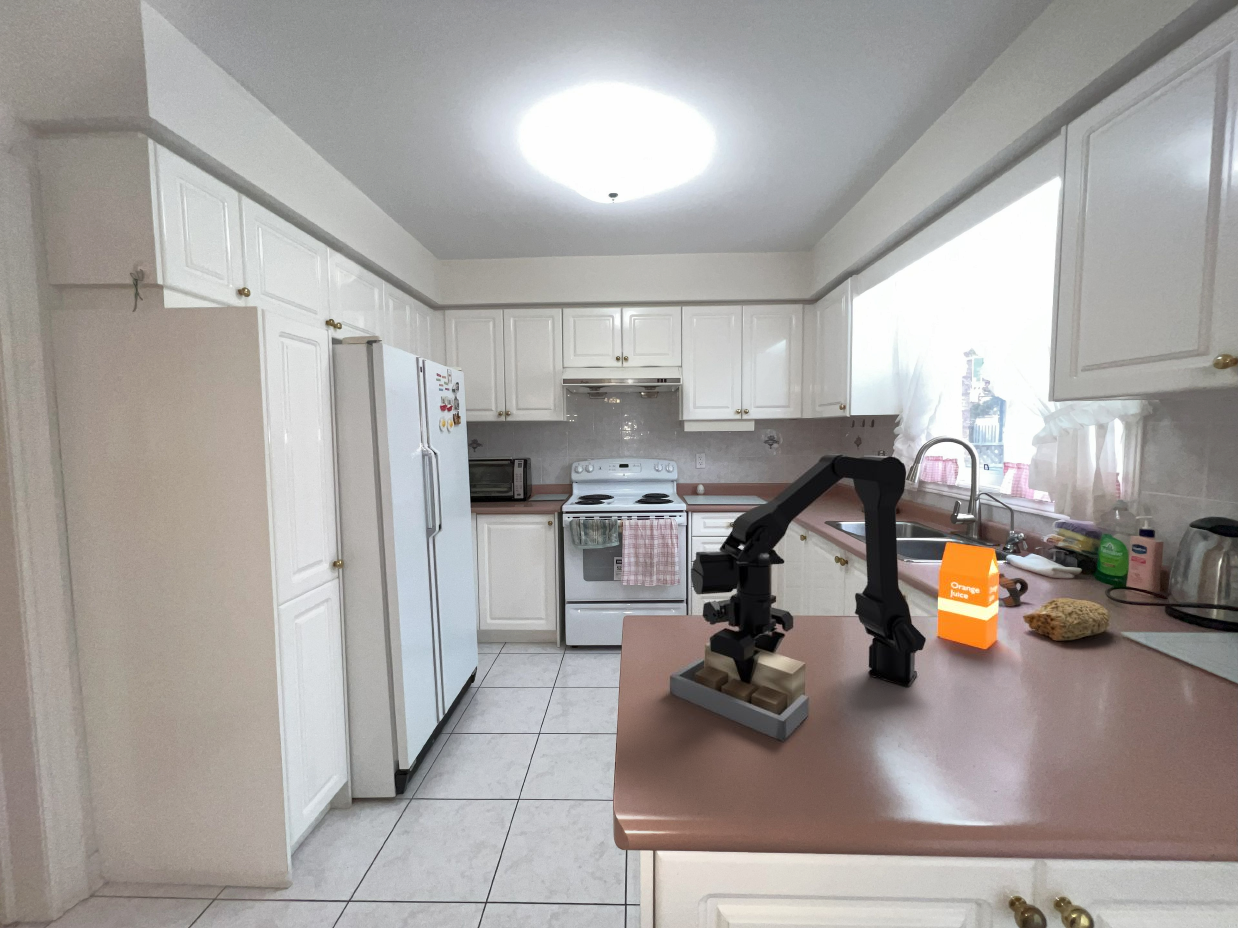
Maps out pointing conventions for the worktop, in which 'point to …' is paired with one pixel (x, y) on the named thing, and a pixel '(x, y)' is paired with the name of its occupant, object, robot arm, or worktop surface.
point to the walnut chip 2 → (770, 700)
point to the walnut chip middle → (739, 690)
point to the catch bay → (737, 704)
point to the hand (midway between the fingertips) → (753, 679)
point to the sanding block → (766, 672)
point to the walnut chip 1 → (711, 678)
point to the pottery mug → (1013, 589)
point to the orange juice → (968, 595)
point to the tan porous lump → (1068, 619)
